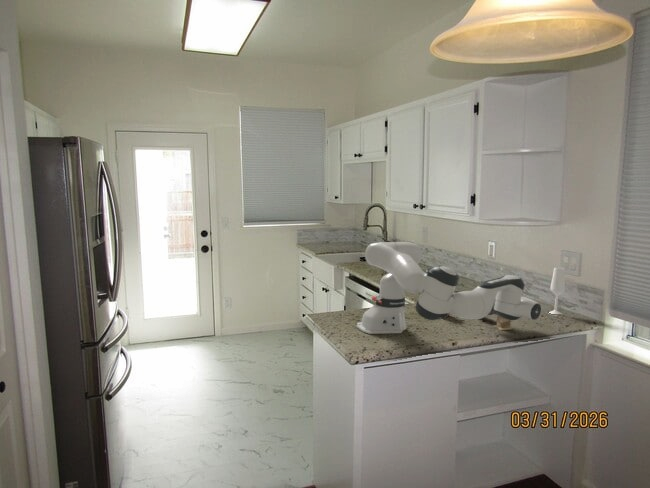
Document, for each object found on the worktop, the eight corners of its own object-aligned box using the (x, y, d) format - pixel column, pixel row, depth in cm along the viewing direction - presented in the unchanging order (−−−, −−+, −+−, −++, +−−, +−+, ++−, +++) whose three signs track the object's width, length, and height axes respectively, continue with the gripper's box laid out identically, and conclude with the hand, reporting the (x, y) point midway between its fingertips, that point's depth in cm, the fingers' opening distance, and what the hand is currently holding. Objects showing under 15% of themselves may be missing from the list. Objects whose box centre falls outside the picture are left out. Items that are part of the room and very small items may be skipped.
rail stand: (513, 329, 203) (514, 313, 202) (500, 330, 201) (501, 314, 200) (478, 314, 227) (479, 300, 226) (466, 315, 224) (467, 300, 223)
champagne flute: (545, 312, 232) (549, 267, 229) (554, 311, 235) (558, 266, 232) (555, 316, 226) (560, 269, 223) (565, 314, 229) (569, 269, 226)
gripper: (490, 310, 197) (470, 302, 210) (527, 307, 203) (506, 300, 216) (491, 296, 196) (471, 289, 209) (528, 294, 203) (507, 287, 216)
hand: (489, 295), depth 213 cm, fingers closed, pressing on slider
